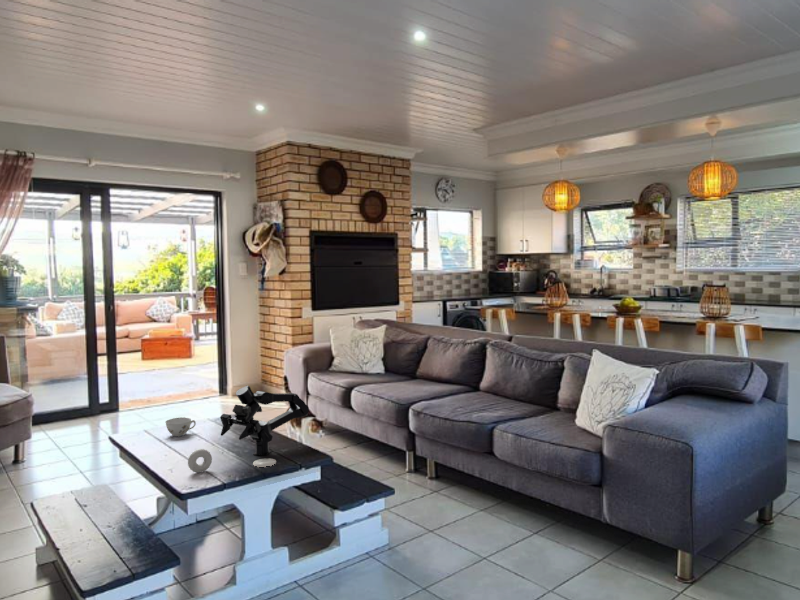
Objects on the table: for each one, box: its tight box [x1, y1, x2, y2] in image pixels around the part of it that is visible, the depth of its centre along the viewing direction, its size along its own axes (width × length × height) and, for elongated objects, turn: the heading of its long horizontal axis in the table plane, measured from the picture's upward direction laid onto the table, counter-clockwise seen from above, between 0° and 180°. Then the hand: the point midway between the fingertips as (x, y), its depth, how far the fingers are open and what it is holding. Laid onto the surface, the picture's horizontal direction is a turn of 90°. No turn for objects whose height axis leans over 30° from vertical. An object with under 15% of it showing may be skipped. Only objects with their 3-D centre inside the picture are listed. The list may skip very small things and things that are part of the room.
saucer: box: [252, 457, 277, 468], centre depth 257 cm, size 10×10×1 cm
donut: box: [187, 448, 213, 473], centre depth 247 cm, size 10×4×10 cm, turn 125°
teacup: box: [165, 416, 197, 437], centre depth 306 cm, size 15×12×8 cm
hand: (230, 437), depth 253 cm, fingers open, 9 cm apart
